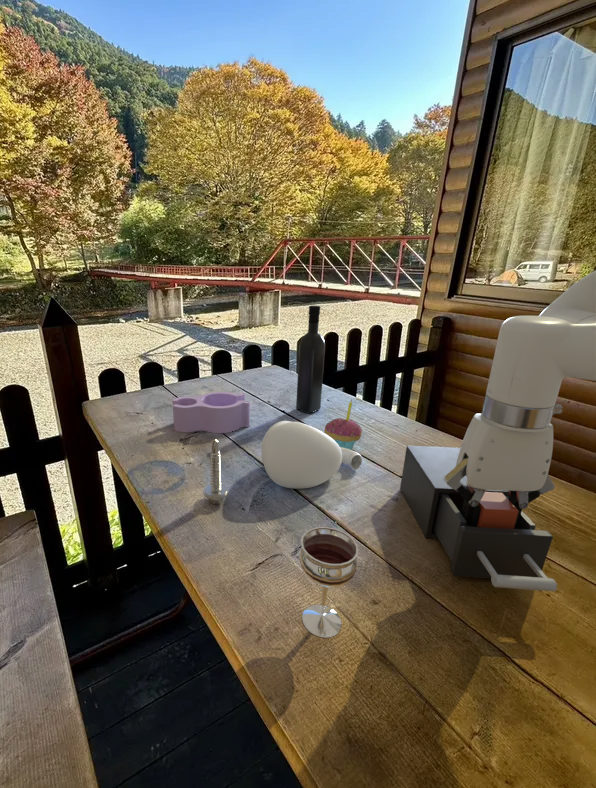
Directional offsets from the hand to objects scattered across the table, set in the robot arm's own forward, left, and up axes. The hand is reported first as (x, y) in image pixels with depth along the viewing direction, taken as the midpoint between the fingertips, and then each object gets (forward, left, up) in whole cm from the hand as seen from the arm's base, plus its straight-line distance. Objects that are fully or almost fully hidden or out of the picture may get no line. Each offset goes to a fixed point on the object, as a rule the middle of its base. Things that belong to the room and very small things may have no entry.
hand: (487, 524), depth 61 cm
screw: (+42, -11, -7) cm, 44 cm away
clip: (+48, -47, -7) cm, 67 cm away
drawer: (0, +1, -6) cm, 6 cm away
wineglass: (+25, +14, -7) cm, 29 cm away
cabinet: (0, -11, -6) cm, 13 cm away
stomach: (+26, -25, -7) cm, 37 cm away
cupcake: (+15, -35, -7) cm, 39 cm away
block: (0, 0, 0) cm, 0 cm away
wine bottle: (+21, -59, -7) cm, 64 cm away
